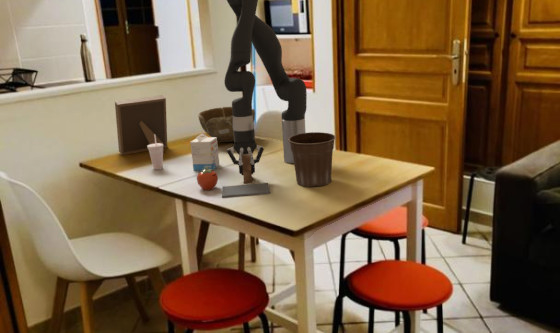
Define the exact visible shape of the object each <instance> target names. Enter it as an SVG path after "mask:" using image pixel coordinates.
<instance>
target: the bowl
mask: <svg viewBox="0 0 560 333" xmlns="http://www.w3.org/2000/svg"><path fill="white" fill-rule="evenodd" d="M252 115H253V120H254V121H255V118H256V117H255V116H256V111H255V109H254V108H252ZM197 116H198V121H199V124H200V126H201V128H202V130H203V131H204V132H205V133H206V134H207V135H208V137H217V142H220V143H232V142H233V143H234V134H233V113H232V106H223V107H213V108H209V109H206V110H203V111H200V112H199V113H198V115H197Z"/></svg>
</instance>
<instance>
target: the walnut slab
mask: <svg viewBox="0 0 560 333" xmlns="http://www.w3.org/2000/svg"><path fill="white" fill-rule="evenodd" d="M242 166H243V175H242V176H243V183H244V184H246V183H247V184H248V183H249V184H251V183H253V174H252V172H251V159H250V154H243V155H242Z"/></svg>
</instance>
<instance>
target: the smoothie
mask: <svg viewBox="0 0 560 333" xmlns="http://www.w3.org/2000/svg"><path fill="white" fill-rule="evenodd" d="M154 138H155V144H150V145H148V146H147V147H148V149H149V150H148V153H149V157H150V160H151V164H152V167H153V170H162V169H163V168H164V166H163V165H164V161H163V160H164V158H163V157H164V156H163V155H164V153H163V144H161V143H156V135H155V134H154Z"/></svg>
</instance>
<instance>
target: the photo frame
mask: <svg viewBox="0 0 560 333" xmlns="http://www.w3.org/2000/svg"><path fill="white" fill-rule="evenodd" d="M114 108H115V118H116V119H115V120H116V130H117V131H116V133H117V142H118V152H119V154H120V155H121V156H126V155H130V154H135V153H142V152H149V149H148V147H147V146H148V145H150V144H155V138H154V134H155V135H156V143H161V144H163V154H164V153H165V148H168V128H167V127H168V126H167V98H166V97H165V96H164V95H163V94H161V95H151V96H145V97H138V98H137V97H136V98H129V99H121V100H114Z"/></svg>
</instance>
